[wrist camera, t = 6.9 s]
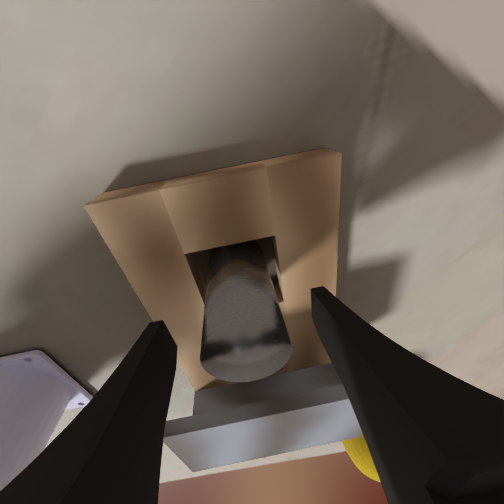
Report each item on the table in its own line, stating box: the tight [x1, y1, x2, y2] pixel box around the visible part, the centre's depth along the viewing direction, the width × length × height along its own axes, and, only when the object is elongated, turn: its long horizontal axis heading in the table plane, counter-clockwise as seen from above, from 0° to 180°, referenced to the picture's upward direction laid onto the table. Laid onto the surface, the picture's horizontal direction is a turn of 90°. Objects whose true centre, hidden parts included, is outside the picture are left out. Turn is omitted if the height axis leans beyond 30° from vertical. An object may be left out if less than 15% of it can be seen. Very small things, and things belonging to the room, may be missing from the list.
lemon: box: [342, 433, 381, 482], centre depth 23 cm, size 6×6×8 cm
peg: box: [200, 240, 292, 382], centre depth 12 cm, size 4×4×7 cm
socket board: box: [84, 148, 362, 472], centre depth 14 cm, size 12×18×7 cm, turn 10°
